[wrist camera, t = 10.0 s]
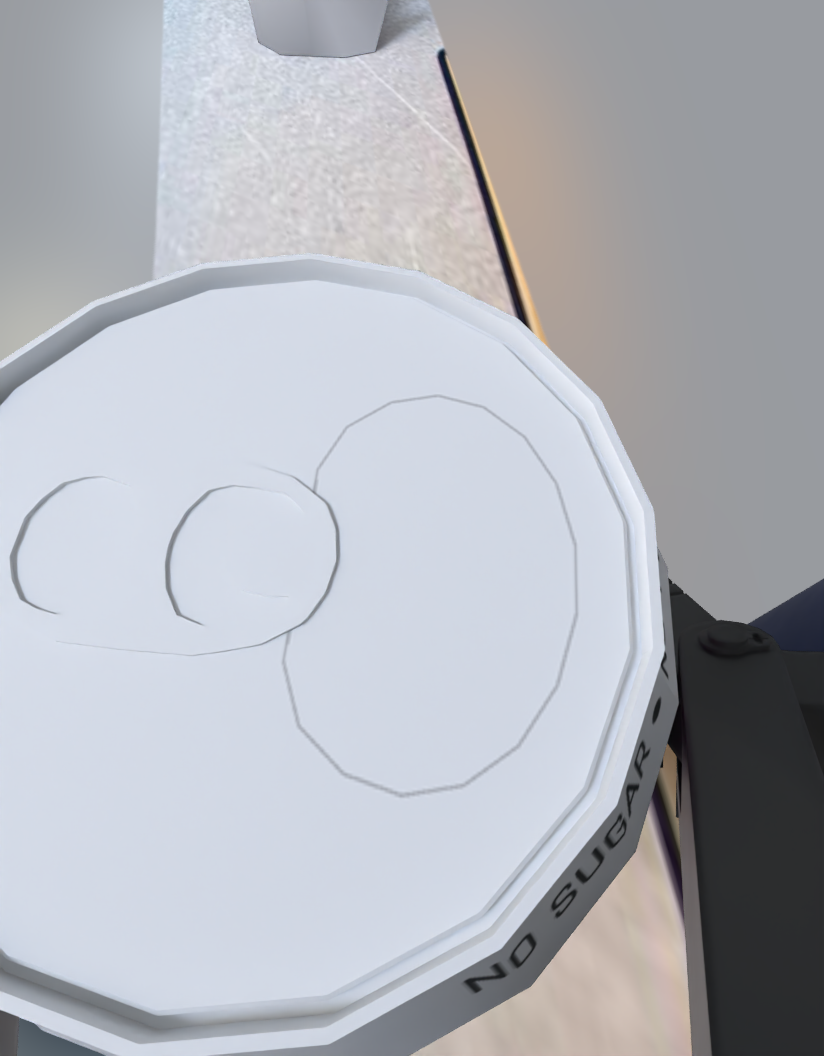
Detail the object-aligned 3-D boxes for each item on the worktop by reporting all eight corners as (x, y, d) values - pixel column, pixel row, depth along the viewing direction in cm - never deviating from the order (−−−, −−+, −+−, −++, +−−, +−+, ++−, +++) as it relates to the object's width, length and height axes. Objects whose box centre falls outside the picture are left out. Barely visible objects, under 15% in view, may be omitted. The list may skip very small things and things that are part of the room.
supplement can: (521, 618, 20) (689, 223, 7) (516, 910, 17) (832, 1309, 3) (279, 599, 21) (-17, 203, 7) (227, 877, 18) (-511, 1102, 4)
